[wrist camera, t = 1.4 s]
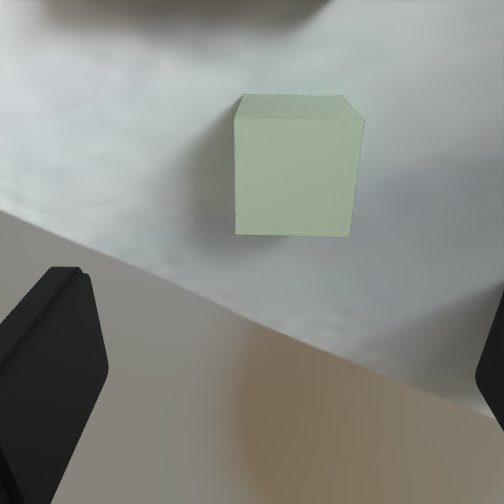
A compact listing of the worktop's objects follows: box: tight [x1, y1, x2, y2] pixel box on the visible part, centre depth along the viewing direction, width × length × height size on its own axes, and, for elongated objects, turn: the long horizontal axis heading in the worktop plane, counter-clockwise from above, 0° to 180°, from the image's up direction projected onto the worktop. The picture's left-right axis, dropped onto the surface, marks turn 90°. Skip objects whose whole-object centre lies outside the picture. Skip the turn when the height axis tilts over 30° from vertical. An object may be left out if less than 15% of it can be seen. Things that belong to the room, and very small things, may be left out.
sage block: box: [234, 94, 364, 237], centre depth 20 cm, size 5×5×6 cm
